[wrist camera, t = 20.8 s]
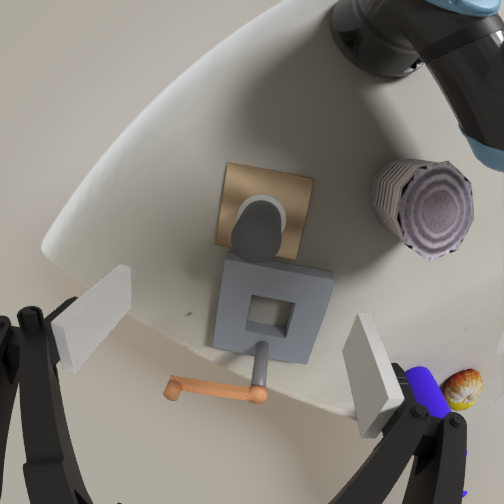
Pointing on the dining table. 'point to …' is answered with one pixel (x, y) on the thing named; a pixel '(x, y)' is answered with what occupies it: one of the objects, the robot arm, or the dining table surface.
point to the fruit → (462, 389)
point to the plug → (258, 228)
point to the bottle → (428, 393)
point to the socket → (276, 287)
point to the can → (424, 205)
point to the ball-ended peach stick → (214, 390)
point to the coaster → (270, 183)
